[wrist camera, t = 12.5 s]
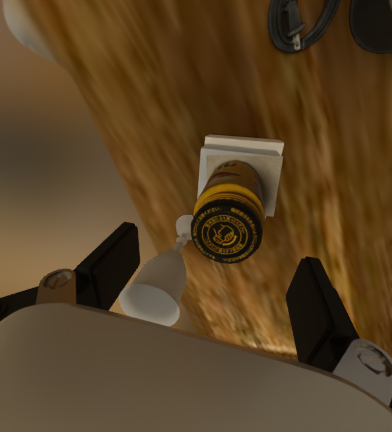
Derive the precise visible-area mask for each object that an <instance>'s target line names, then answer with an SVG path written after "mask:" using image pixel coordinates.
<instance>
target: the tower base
mask: <svg viewBox="0 0 392 432" xmlns="http://www.w3.org/2000/svg"><path fill="white" fill-rule="evenodd" d="M207 143H208V144H217V145H227V146H237V147H247V148H257V149H267V150H277V152H278V153H279V154H280V156H281V155H282V151H283V147H284V143H283V142H282V141H281V140H274V139H262V138H249V137H237V136H224V135H211V134H209V135H208V136H206V137H205V145H206V144H207Z"/></svg>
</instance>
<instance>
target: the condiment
mask: <svg viewBox="0 0 392 432" xmlns="http://www.w3.org/2000/svg"><path fill="white" fill-rule="evenodd" d="M282 161H283V156H232V155H207V184H206V186H205V187H204V189H203V191H202V192H201V194H200V196H199V198H198V200H197V202H196V204H195V208H194V214H193V215H194V216H193V220H192V221H191V237H192V240H193V242H194V244H195V246H196V247H197V249H198V250H199V251H200V252H201V253H202V254H203V255H204V256H206V257H208V258H209V259H212V260H214V261H216V262H219V263H228V264H232V263H238V262H241V261H244V260H245V259H247V258H248V257H249V256H251V255H252V254H253V253H254V252H255V251H256V250H257V249H258V248H259V246H260V243H261V239H262V233H263V229H262V228H263V226H264V223H265V216H274V211H275V204H276V198H277V191H278V185H279V179H280V173H281V167H282Z"/></svg>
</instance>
